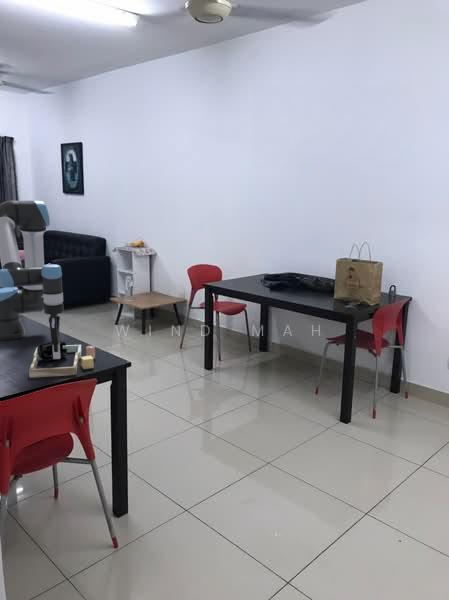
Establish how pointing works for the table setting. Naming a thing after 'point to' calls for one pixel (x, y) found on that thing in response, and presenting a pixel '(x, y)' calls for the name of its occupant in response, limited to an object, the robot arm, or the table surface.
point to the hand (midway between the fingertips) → (56, 358)
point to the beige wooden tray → (52, 369)
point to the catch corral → (68, 349)
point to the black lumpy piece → (50, 351)
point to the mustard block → (87, 362)
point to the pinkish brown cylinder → (90, 351)
